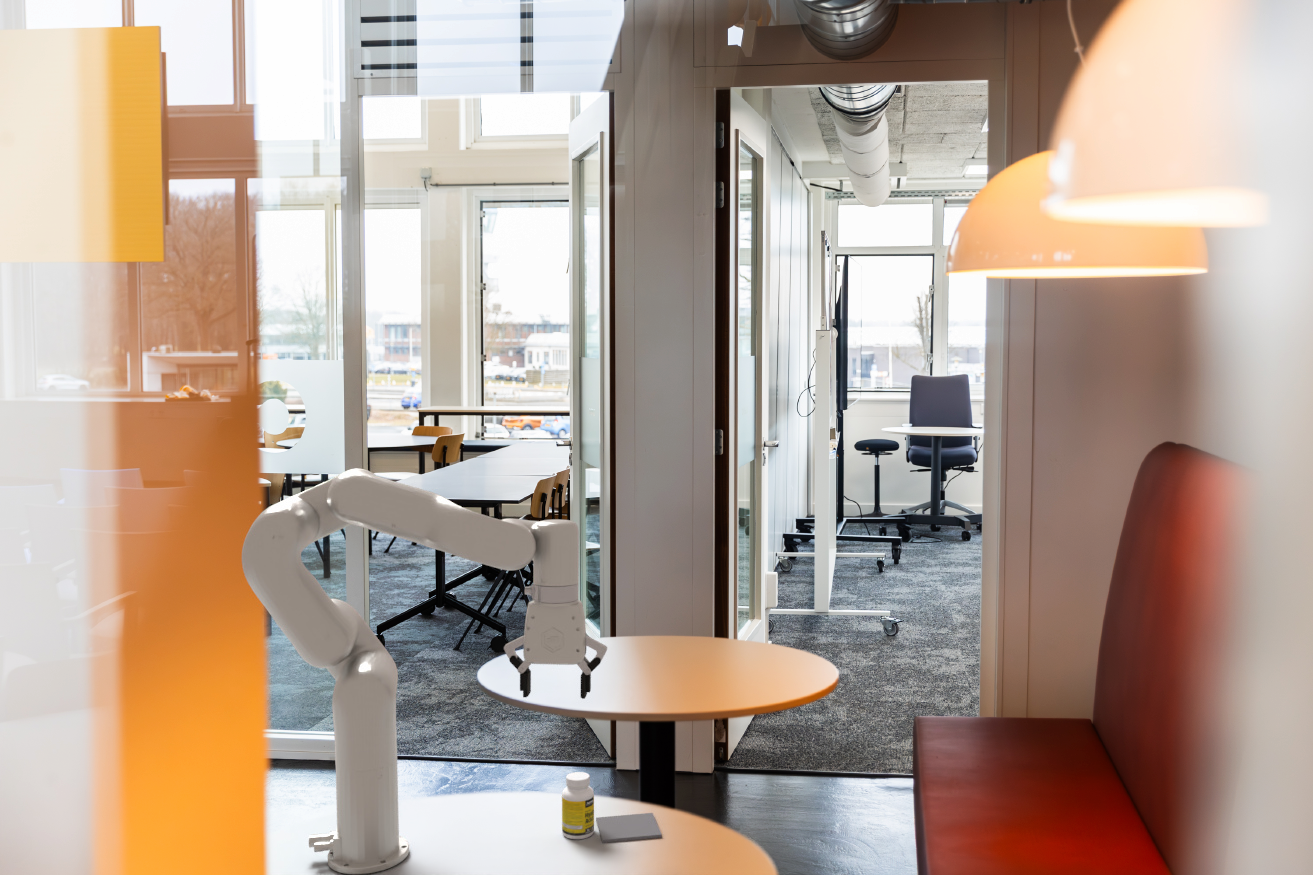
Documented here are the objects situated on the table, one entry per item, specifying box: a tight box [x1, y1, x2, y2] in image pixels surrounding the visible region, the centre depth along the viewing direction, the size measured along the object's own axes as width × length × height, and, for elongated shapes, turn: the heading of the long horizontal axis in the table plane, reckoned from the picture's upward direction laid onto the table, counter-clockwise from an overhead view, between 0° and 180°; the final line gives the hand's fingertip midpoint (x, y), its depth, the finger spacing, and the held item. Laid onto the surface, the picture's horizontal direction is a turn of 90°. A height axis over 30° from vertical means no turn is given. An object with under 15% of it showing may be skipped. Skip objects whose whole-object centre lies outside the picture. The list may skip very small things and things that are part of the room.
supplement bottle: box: [561, 771, 595, 840], centre depth 162 cm, size 5×5×10 cm
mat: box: [595, 812, 663, 844], centre depth 164 cm, size 10×9×1 cm
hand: (555, 695), depth 161 cm, fingers open, 9 cm apart
